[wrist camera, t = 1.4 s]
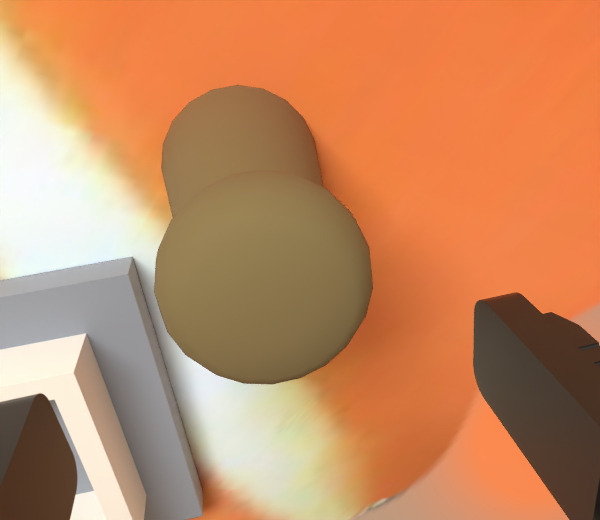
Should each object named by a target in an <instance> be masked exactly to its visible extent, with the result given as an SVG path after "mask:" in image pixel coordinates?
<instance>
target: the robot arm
mask: <svg viewBox="0 0 600 520" xmlns="http://www.w3.org/2000/svg"><path fill="white" fill-rule="evenodd" d="M473 366H474V374H475V378H476V381H477V385H478V387H479V390H480V392H481V394H482V396H483V397H484V399H485V400H486V402H487V403H488V404H489V406H490V407H491V409H492V410H493V412H494V413H495V414H496V416H497V417H498V419H499V420H500V421H501V423H502V424H503V426H504V427H505V429H506V430H507V431H508V433H509V434H510V436H511V437H512V438H513V440H514V441H515V443H516V444H517V446H518V447H519V449H520V450H521V451H522V453H523V454H524V456H525V457H526V458H527V460H528V461H529V463H530V464H531V465H532V467H533V468H534V469H535V471H536V473H537V474H538V475H539V477H540V478H541V480H542V481H543V483H544V484H545V485H546V487H547V488H548V490H549V491H550V493H551V494H552V495H553V497H554V498H555V500H556V501H557V503H558V504H559V505H560V507H561V508H562V509H563V511H564V512H565V513H566V515H567V517H568V518H569V519H570V520H600V346H599V343H598V342H597V341H596V340H595V339H594V338H593V337H592V336H591V335H590V334H588V333H587V332H586V331H585V330H584V329H583V328H582V327H580V326H579V325H578V324H576V323H574V322H571V321H569V320H567V319H565V318H563V317H561V316H559V315H556V314H554V313H552V312H550V313H545V314H542V313H541V312H540V311H539V310H538V309H537V308H536V307H534V306H533V305H532V304H531V303H530V302H529V301H528V300H527V299H526V298H525V297H524V296H523V295H521V294H520V293H511V294H506V295H502V296H497V297H492V298H488V299H483V300H479V301H477V303H476V305H475V309H474V358H473ZM76 490H77V467H76V462H75V458H74V455H73V452H72V450H71V448H70V445H69V443H68V441H67V439H66V437H65V434H64V432H63V430H62V428H61V426H60V423H59V421H58V419H57V417H56V414H55V412H54V410H53V408H52V406H51V403H50V401H49V400H48V398H47V397H46V396H45V395H44V394H42V393H39V394H35V395H30V396H25V397H21V398H16V399H11V400H7V401H2V402H0V520H70V517H71V513H72V508H73V504H74V500H75V495H76Z"/></svg>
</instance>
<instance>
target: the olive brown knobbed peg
mask: <svg viewBox="0 0 600 520" xmlns="http://www.w3.org/2000/svg"><path fill="white" fill-rule="evenodd" d="M162 173H163V177H164V182H165V186H166V190H167V194H168V199H169V203H170V207H171V212H172V216H173V219H172V220H171V222H170V224H169V226H168V228H167V231H166V233H165V235H164V237H163V240H162V242H161V244H160V246H159V249H158V253H157V258H156V268H155V286H154V293H155V296H156V299H157V302H158V305H159V309H160V312H161V315H162V318H163V321H164V324H165V326H166V329H167V332H168V333H169V334H170V336H171V337H172V338H173V340H174V341H175V342H176V343H177V345H178V346H179V347H180V348H181V350H182V351H183V352H184V353H185V355H187V356H188V357H190V358H191V359H193V360H194V361H196V362H197V363H199V364H200V365H202V366H203V367H205V368H206V369H208V370H209V371H211V372H213V373H214V374H216V375H218V376H221V377H224V378H228V379H231V380H234V381H238V382H241V383H247V384H276V383H280V382H285V381H289V380H293V379H298V378H301V377H303V376H305V375H307V374H309V373H311V372H313V371H315V370H317V369H319V368H321V367H323V366H325V365H326V364H328V363H329V362H330V361H331V360H332V359H333V358H334V357H335V356H336V355H338V354H339V353H340V352H341V351H342V350H343V349H344V348H345V347H346V346H347V345H348V343H349V342H350V340H351V339H352V337H353V335H354V334H355V332H356V331H357V329H358V327H359V326H360V324H361V323H362V321H363V319H364V318H365V316H366V313H367V309H368V305H369V301H370V297H371V293H372V289H373V282H372V271H371V261H370V251H369V246H368V244H367V242H366V240H365V238H364V236H363V234H362V232H361V230H360V228H359V226H358V224H357V222H356V220H355V218H354V217H353V215H352V214H351V212H350V211H349V210H348V209H347V208H346V207H345V206H344V205H343V204H342V203H341V202H340V201H339V200H338V199H337V198H335V197H334V196H333V195H332V194H331V193H330V192H329V191H328V190H327V189H325V188H323V183H322V178H321V172H320V167H319V162H318V157H317V152H316V146H315V141H314V138H313V136H312V134H311V132H310V130H309V128H308V126H307V124H306V122H305V120H304V118H303V117H302V116H301V115H300V114H299V113H298V112H297V111H296V110H295V109H294V108H293V107H292V106H291V105H290V104H289V103H288V102H287V101H286V100H285V99H283V98H281V97H279V96H277V95H275V94H273V93H271V92H269V91H267V90H265V89H261V88H254V87H247V86H240V85H235V86H230V87H225V88H219V89H214V90H211V91H209V92H207V93H205V94H204V95H202V96H200V97H198V98H196V99H195V100H193V101H191V102H189V103H188V105H187V106H186V107H185V108H184V109H183V110H182V111H181V112H180V114H179V115H178V116H177V117H176V118H175V119H174V120H173V121H172V124H171V126H170V128H169V131H168V133H167V136H166V138H165V141H164V143H163V151H162Z"/></svg>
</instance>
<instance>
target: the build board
mask: <svg viewBox="0 0 600 520" xmlns="http://www.w3.org/2000/svg"><path fill="white" fill-rule="evenodd" d="M39 393H42V394H44V395H45V396H46V397H47V398H48V400H49V401H50V403H51V406H52V408H53V410H54V412H55V414H56V417H57V419H58V421H59V423H60V426H61V428H62V430H63V432H64V434H65V437H66V439H67V441H68V443H69V445H70V448H71V450H72V452H73V455H74V458H75V462H76V467H77V490H76V495H75V500H74V504H73V508H72V513H71V517H70V520H187V519H191V518H196V517H200V516H203V490H202V487H201V484H200V480H199V477H198V474H197V470H196V467H195V464H194V460H193V457H192V454H191V450H190V447H189V444H188V441H187V437H186V434H185V431H184V427H183V424H182V421H181V417H180V414H179V411H178V407H177V404H176V401H175V397H174V394H173V391H172V387H171V384H170V381H169V377H168V374H167V371H166V367H165V364H164V361H163V357H162V354H161V351H160V347H159V344H158V341H157V338H156V334H155V331H154V328H153V324H152V321H151V318H150V314H149V311H148V308H147V304H146V301H145V298H144V294H143V291H142V288H141V284H140V281H139V278H138V274H137V271H136V268H135V264H134V261H133V258H132V257H128V258H123V259H117V260H112V261H106V262H101V263H95V264H90V265H84V266H79V267H73V268H67V269H62V270H56V271H51V272H45V273H40V274H34V275H29V276H23V277H18V278H12V279H7V280H1V281H0V402H2V401H7V400H11V399H16V398H21V397H25V396H30V395H35V394H39Z"/></svg>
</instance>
